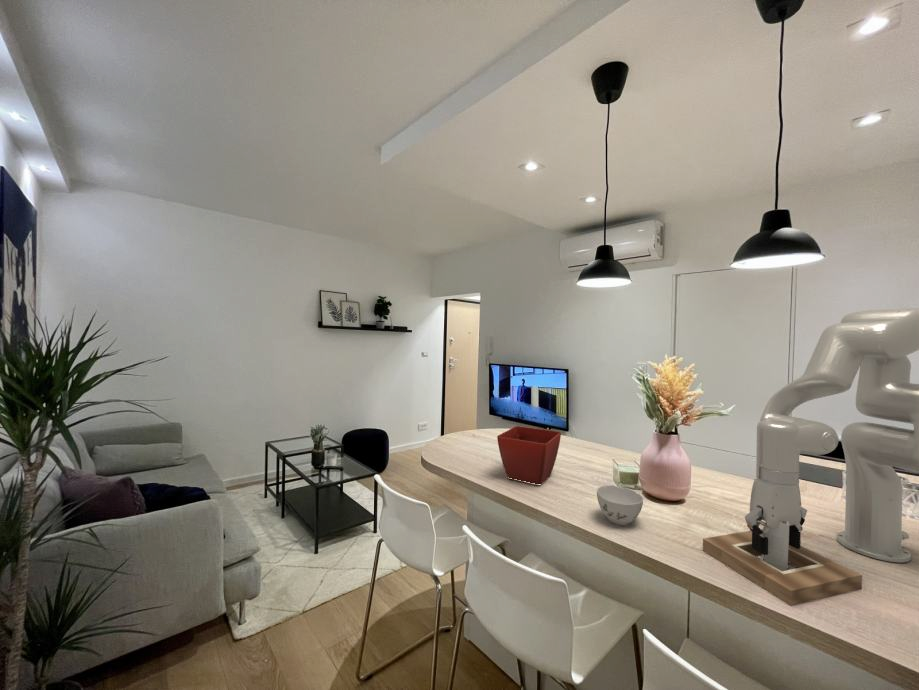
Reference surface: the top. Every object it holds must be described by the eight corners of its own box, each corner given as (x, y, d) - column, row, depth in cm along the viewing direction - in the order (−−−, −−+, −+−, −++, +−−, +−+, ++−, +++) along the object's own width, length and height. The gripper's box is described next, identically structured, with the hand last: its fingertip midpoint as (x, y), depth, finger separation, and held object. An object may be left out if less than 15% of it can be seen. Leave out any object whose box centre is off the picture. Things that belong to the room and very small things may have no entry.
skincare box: (763, 558, 90) (764, 508, 90) (788, 565, 87) (789, 514, 87) (762, 570, 86) (763, 517, 86) (788, 578, 83) (789, 524, 83)
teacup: (628, 536, 100) (629, 507, 100) (587, 518, 110) (587, 492, 110) (655, 519, 110) (655, 492, 109) (614, 504, 119) (615, 480, 119)
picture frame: (764, 539, 99) (764, 528, 99) (861, 588, 79) (862, 574, 79) (702, 550, 94) (702, 538, 94) (791, 605, 74) (791, 590, 74)
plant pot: (545, 491, 130) (545, 443, 129) (495, 480, 140) (496, 436, 139) (561, 474, 146) (561, 431, 146) (516, 466, 156) (516, 425, 156)
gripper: (787, 466, 92) (786, 535, 92) (731, 472, 88) (731, 545, 88) (823, 477, 85) (822, 552, 85) (765, 485, 80) (764, 563, 81)
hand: (776, 548), depth 86 cm, fingers open, 9 cm apart
